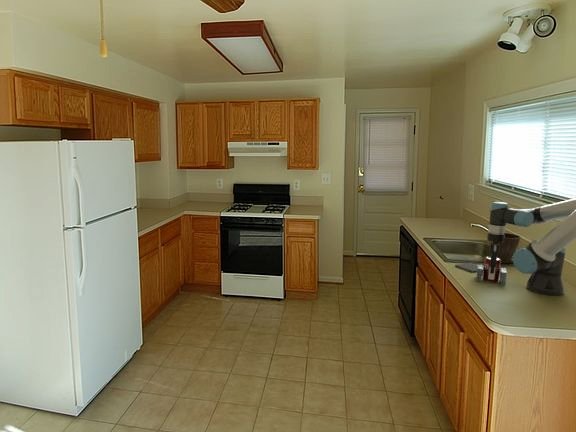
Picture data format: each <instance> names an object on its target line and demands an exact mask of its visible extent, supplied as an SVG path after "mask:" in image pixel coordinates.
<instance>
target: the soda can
mask: <svg viewBox="0 0 576 432" xmlns="http://www.w3.org/2000/svg"><path fill="white" fill-rule="evenodd" d="M490 261H491V256H490V255H489V256H488V255H487V256H486V257H485V258H484V262H483V263H484V264H483V267H484V271H483V276H482V280H483V281H484V282H486V283H491V284H497V283H498V282H500V268H501V263H502V262H501V259H500V258H497V260H496V268H495V276H494V280H492V279H488V275H489V267H488V265H490ZM494 265H495V264H494Z"/></svg>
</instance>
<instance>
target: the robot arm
mask: <svg viewBox="0 0 576 432" xmlns="http://www.w3.org/2000/svg"><path fill="white" fill-rule="evenodd" d="M560 219H563V220H562V221H561V222H559V223H558V224H557V225H556V226H555V227H554V228H552V229H551V230H550V231H549V232H548V233H546V234H545V235H544V236H543V237H542V238H540V239H539V240H538V239H534V240H532V241H531V242H530V243H528V244H527V245H526V246H525V247H521V248H519V249H516V251H515V253H514V255H513V257H512V262H513V266H514V267H515V269H516V270H517V271H519V272H520V273H522V274H526V275H530V274H531V275H530V276H529V278H528V280H527V283H526V288H527V289H528V290H530V291H531V292H535V293H537V294H543V295H547V296H561V295H564V292H565V289H564V284H563V280H562V279H563V278H562V275H563V267H564V261H565V256H566V247H568V245H570V244H571V243H573V241H575V240H576V197H575V198H573V199H572V198H571V199H568V200H563V201H559V202H555V203H551V204H546V205H543V206H538V207H534V208H533V207H531V208H522V209H521V208H520V209H517V208H511V207H509V203H508V202H503V201H502V202H501V201H494V202H491V206H490V213H489V222H488V224H489V225H487V226H486V227H487V228H488V233H487V241H490V243H489V244H490V245H489V247H490V248H489V251H490V252H489V254H490V255H489V256H491V261H490V265H488V267H489V275H488V279H492V280H494V276H495V268H496V260H497V254H498V249H499V244H498V242H503V241H504V236H505V235H504V233H506V230H507V225H513V226H517V227H522V228H523V227H524V228H528V227H530V226H531V225H536V224H537V225H538V224H543V223H546V222H550V221H554V220H555V221H556V220H560ZM494 264H495V265H494Z"/></svg>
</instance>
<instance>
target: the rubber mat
mask: <svg viewBox="0 0 576 432" xmlns="http://www.w3.org/2000/svg"><path fill="white" fill-rule="evenodd" d="M478 265H479V264H476V263H473V262H465V263H459V264H454V267H455V266H456V268H459V269H460V268H461V270H463V269H464V270H463V271H467V272H469V273H471V274H473V273H477V269H478ZM483 272H484V266H483Z"/></svg>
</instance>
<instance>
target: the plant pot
mask: <svg viewBox="0 0 576 432" xmlns="http://www.w3.org/2000/svg"><path fill="white" fill-rule="evenodd" d="M504 235H505V236H504V241H503V242H498V244H499V249H498V254H497V258H500V259H501V263H503V264H509V263H510V262H511V260H513V255H514V253H515V251H517V250H518V249H517V248H518V246H519V243H520V241H521V236H520V235H517V234H514V233H507V232H505V233H504Z"/></svg>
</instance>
